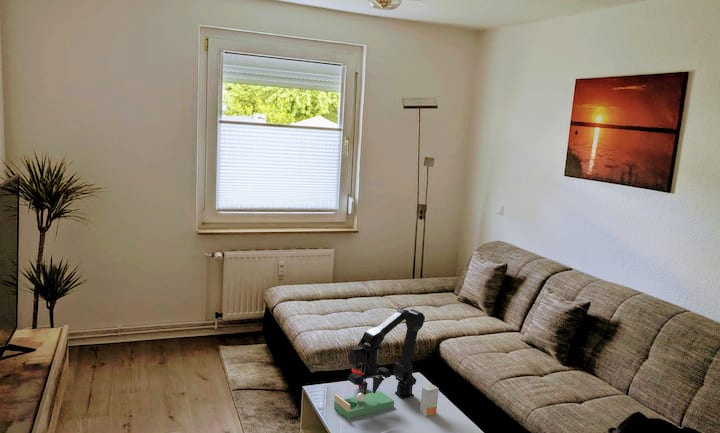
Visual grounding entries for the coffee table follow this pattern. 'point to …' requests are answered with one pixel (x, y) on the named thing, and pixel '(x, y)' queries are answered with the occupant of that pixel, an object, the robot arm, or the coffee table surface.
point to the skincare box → (429, 400)
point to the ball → (361, 397)
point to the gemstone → (357, 372)
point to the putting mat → (362, 404)
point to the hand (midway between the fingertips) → (368, 394)
